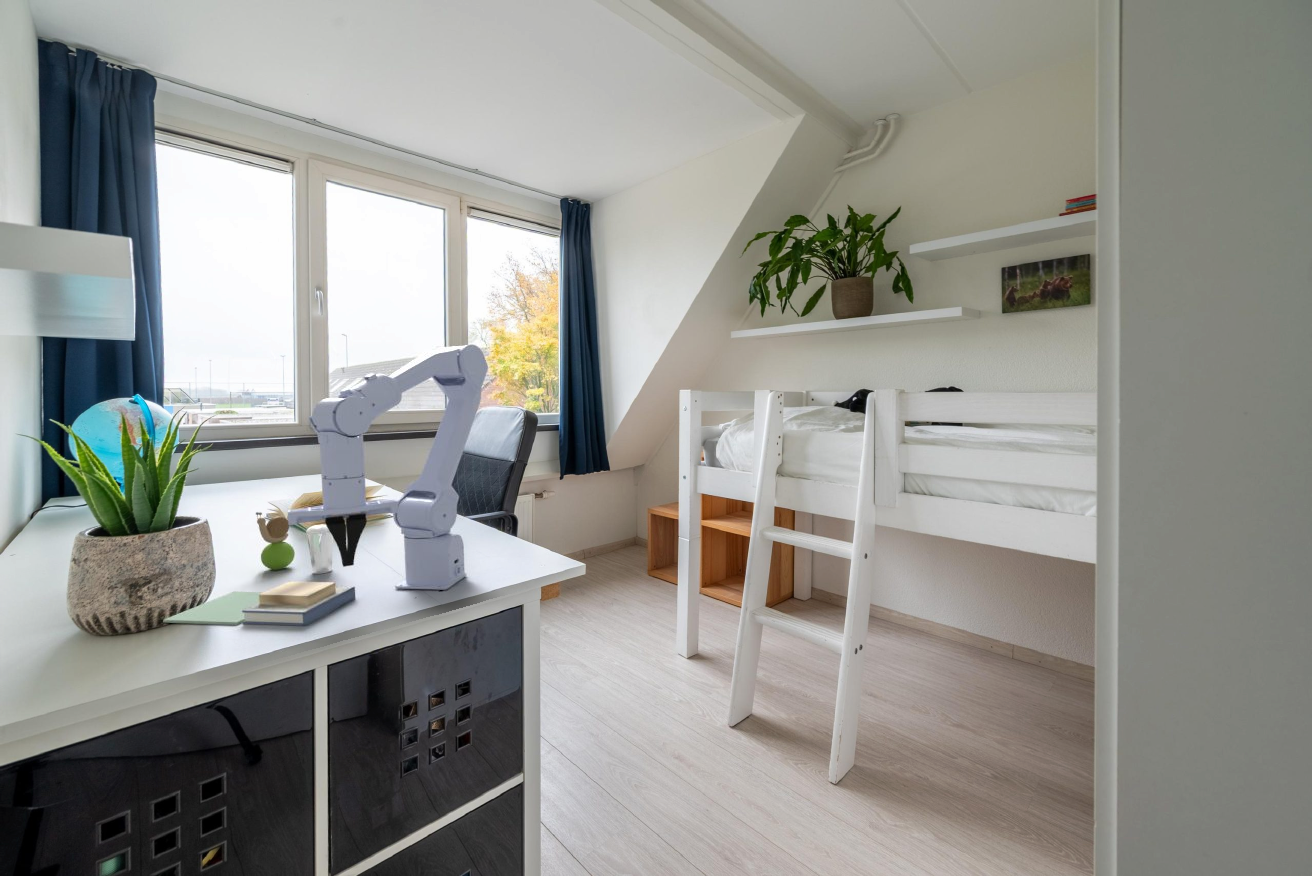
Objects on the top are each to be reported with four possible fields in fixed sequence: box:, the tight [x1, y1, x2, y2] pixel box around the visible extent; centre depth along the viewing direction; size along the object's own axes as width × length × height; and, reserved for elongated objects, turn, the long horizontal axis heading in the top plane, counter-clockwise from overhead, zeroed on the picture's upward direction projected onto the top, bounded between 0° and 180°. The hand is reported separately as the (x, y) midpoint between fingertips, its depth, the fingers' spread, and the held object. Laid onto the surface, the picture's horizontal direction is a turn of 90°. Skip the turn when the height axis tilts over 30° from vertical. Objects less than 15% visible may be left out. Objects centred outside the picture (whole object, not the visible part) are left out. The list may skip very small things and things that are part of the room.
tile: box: [259, 581, 337, 606], centre depth 84 cm, size 8×6×2 cm
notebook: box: [242, 585, 356, 627], centre depth 85 cm, size 10×11×2 cm
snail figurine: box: [255, 511, 296, 571], centre depth 105 cm, size 5×6×12 cm
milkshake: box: [305, 523, 334, 575], centre depth 104 cm, size 4×5×10 cm
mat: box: [163, 591, 265, 626], centre depth 86 cm, size 12×12×1 cm
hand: (347, 564), depth 83 cm, fingers closed
